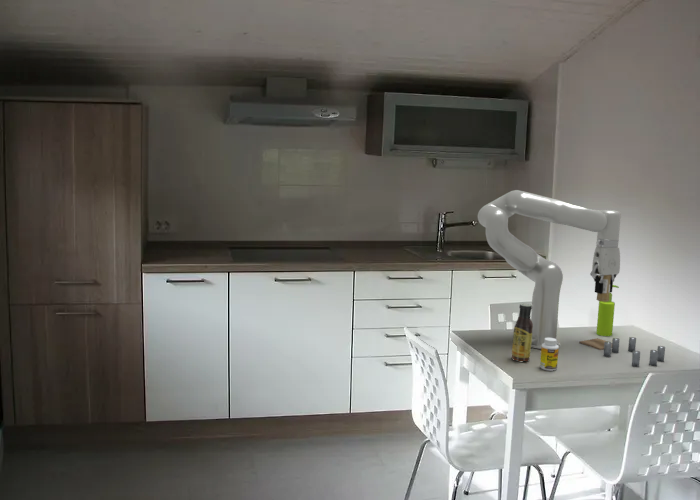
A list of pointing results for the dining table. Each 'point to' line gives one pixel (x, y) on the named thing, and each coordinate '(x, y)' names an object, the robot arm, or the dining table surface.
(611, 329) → the soap dispenser
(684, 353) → the dining table surface
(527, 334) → the sauce bottle
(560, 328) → the dining table surface
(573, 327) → the dining table surface
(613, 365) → the dining table surface
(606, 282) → the sprinkles bottle
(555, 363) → the supplement bottle
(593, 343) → the walnut pad
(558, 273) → the robot arm
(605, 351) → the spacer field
